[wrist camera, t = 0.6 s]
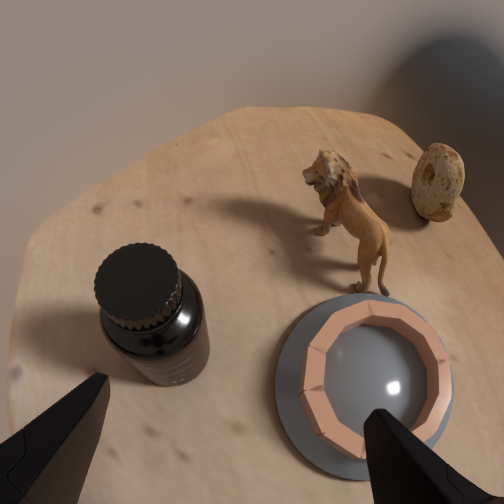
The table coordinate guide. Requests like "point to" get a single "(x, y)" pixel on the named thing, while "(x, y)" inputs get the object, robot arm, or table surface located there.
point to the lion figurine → (350, 213)
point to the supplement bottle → (152, 314)
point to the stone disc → (437, 182)
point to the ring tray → (360, 379)
